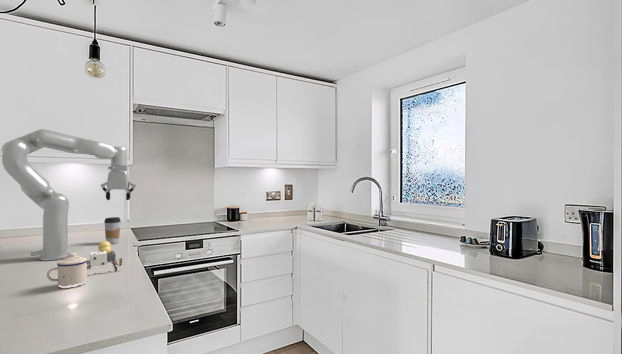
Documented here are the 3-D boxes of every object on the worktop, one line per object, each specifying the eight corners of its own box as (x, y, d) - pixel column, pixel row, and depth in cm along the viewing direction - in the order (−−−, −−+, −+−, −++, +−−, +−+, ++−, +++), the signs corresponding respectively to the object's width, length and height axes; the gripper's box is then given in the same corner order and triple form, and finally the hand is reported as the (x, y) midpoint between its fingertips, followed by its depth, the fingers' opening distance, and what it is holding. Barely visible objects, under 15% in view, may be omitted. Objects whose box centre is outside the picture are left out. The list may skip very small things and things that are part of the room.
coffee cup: (115, 245, 190) (115, 219, 190) (100, 244, 190) (100, 218, 190) (123, 242, 198) (123, 217, 198) (110, 241, 198) (110, 217, 198)
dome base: (95, 263, 150) (95, 256, 150) (94, 260, 157) (94, 252, 157) (115, 261, 155) (115, 254, 155) (113, 257, 162) (113, 250, 162)
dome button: (98, 256, 153) (98, 242, 152) (98, 254, 157) (98, 240, 157) (111, 255, 156) (111, 241, 155) (110, 252, 160) (110, 239, 159)
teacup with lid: (86, 279, 128) (86, 249, 128) (88, 285, 121) (88, 254, 121) (46, 285, 121) (46, 254, 121) (46, 292, 114) (46, 259, 114)
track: (75, 277, 130) (75, 270, 130) (74, 266, 146) (74, 260, 146) (125, 270, 141) (125, 263, 141) (119, 260, 156) (119, 254, 156)
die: (90, 269, 143) (90, 255, 143) (90, 265, 148) (90, 252, 148) (107, 266, 146) (107, 253, 146) (105, 263, 151) (105, 250, 151)
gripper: (98, 168, 177) (97, 200, 177) (133, 169, 181) (133, 200, 181) (104, 168, 184) (103, 199, 184) (137, 169, 188) (137, 199, 188)
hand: (118, 199), depth 182 cm, fingers open, 9 cm apart
